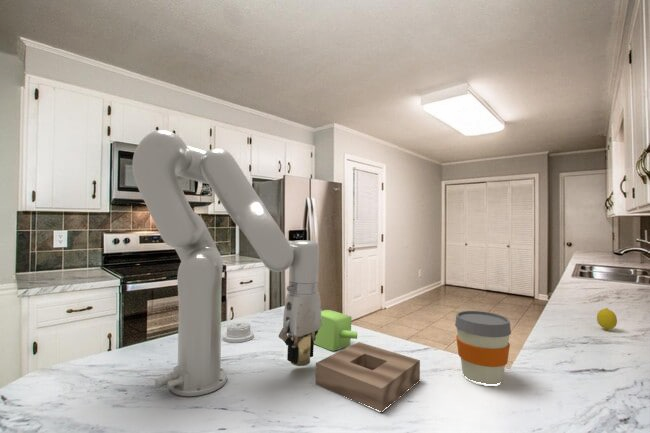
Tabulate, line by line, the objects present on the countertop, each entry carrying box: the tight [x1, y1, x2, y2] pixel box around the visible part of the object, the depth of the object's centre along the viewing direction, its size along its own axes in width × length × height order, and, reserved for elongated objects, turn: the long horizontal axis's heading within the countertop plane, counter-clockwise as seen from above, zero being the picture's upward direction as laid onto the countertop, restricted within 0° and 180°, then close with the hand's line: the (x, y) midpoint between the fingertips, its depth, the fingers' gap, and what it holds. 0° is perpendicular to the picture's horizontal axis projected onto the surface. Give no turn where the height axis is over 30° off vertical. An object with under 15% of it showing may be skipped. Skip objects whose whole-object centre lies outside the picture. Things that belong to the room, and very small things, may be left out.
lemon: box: [596, 307, 618, 331], centre depth 118 cm, size 6×6×8 cm
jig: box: [315, 341, 421, 412], centre depth 78 cm, size 18×18×5 cm
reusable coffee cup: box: [454, 310, 512, 384], centre depth 81 cm, size 13×13×15 cm
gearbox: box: [313, 309, 358, 352], centre depth 103 cm, size 18×10×10 cm, turn 46°
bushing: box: [290, 333, 311, 367], centre depth 84 cm, size 5×5×7 cm
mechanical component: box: [222, 321, 255, 344], centre depth 108 cm, size 10×4×10 cm
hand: (300, 357), depth 84 cm, fingers closed on bushing, 5 cm apart
